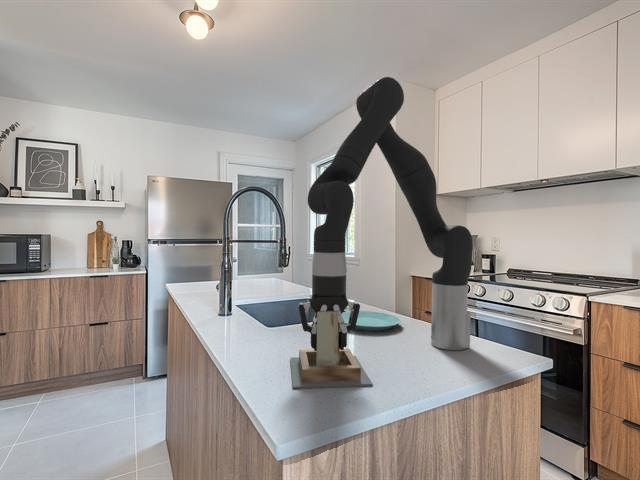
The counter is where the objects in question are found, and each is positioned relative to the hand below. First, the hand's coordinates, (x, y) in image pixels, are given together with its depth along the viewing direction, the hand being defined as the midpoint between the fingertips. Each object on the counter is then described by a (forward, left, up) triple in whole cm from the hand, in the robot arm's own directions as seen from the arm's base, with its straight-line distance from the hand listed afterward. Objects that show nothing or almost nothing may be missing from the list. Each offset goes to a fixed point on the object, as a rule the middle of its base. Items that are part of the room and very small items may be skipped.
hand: (328, 349), depth 75 cm
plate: (-19, -38, -5) cm, 43 cm away
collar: (0, 0, -5) cm, 5 cm away
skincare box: (0, 0, -4) cm, 4 cm away
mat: (0, 0, -5) cm, 5 cm away
